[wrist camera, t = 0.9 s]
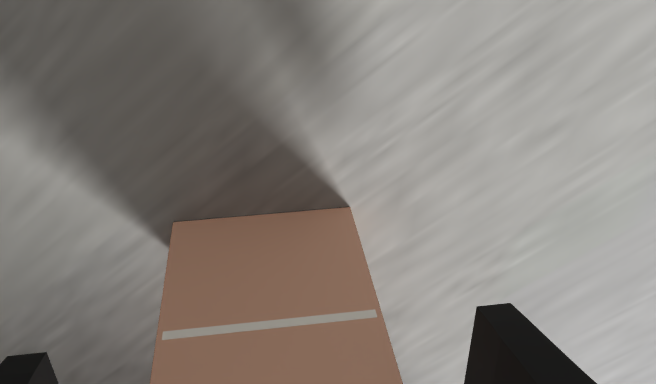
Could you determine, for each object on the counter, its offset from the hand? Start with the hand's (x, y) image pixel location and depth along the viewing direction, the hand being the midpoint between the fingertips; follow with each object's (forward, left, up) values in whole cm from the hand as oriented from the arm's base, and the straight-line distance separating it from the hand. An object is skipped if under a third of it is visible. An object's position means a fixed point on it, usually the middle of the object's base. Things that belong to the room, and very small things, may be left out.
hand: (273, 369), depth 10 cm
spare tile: (0, 0, -4) cm, 4 cm away
